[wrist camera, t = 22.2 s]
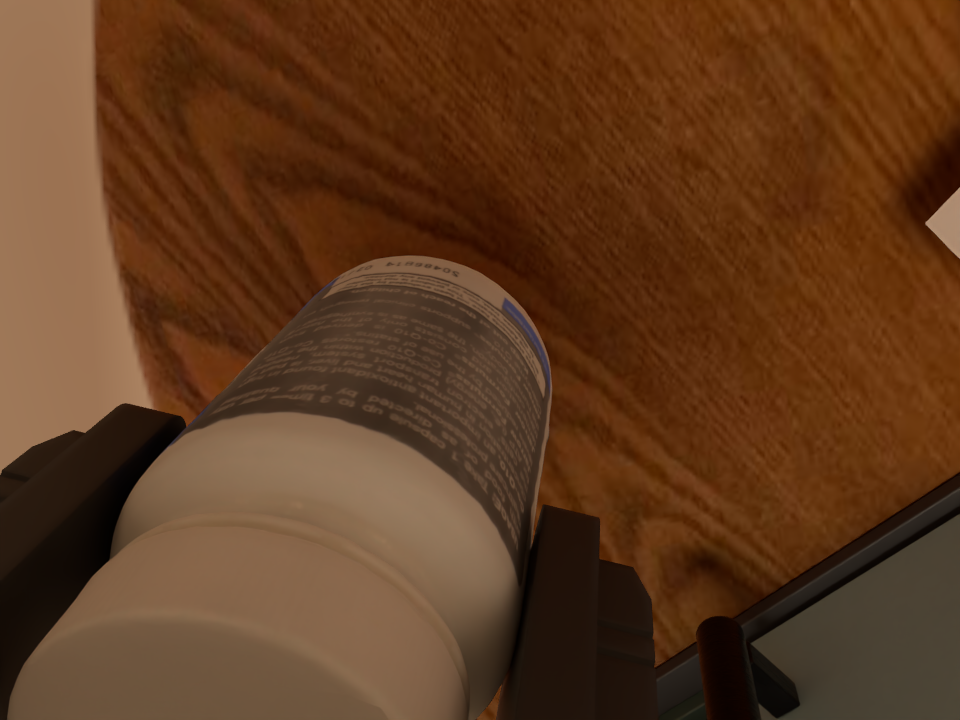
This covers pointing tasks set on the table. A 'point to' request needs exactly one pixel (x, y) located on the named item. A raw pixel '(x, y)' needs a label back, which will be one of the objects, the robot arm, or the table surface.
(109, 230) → the table surface
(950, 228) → the perfume bottle
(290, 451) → the pill bottle
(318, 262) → the table surface
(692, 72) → the table surface
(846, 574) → the cabinet
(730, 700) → the door
